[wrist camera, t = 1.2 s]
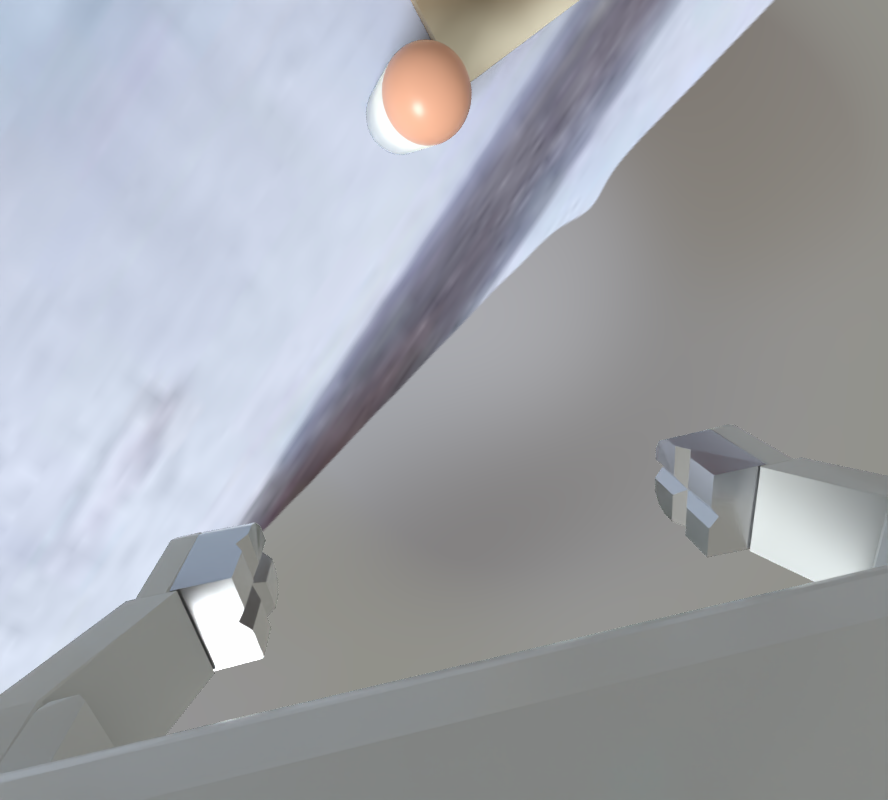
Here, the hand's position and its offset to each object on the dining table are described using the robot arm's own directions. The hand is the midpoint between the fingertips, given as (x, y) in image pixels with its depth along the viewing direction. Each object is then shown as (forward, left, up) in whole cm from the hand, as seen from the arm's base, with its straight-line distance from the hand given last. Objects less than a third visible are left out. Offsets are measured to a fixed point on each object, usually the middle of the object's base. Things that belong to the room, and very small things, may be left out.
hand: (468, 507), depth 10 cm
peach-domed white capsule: (-7, +9, -36) cm, 37 cm away
